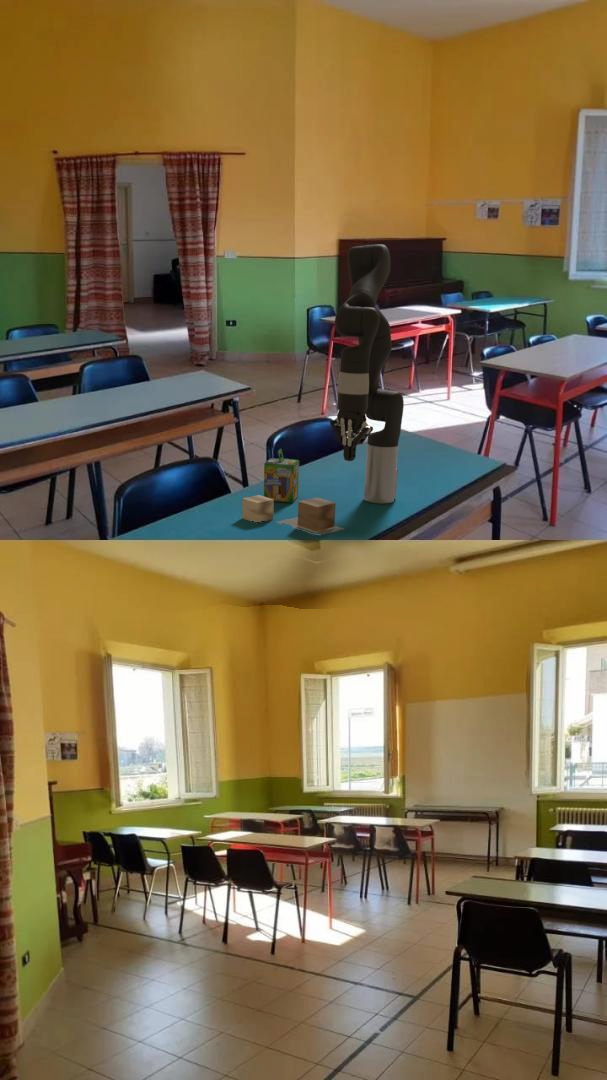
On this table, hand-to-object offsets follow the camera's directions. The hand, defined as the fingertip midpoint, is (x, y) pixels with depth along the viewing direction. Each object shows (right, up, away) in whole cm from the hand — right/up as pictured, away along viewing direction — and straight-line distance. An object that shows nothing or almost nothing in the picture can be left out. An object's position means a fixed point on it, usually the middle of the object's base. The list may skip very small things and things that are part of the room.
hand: (349, 460), depth 209 cm
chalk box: (-18, -8, +42) cm, 46 cm away
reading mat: (-10, -16, +15) cm, 24 cm away
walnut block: (-8, -17, +13) cm, 23 cm away
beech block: (-24, -15, +19) cm, 34 cm away
